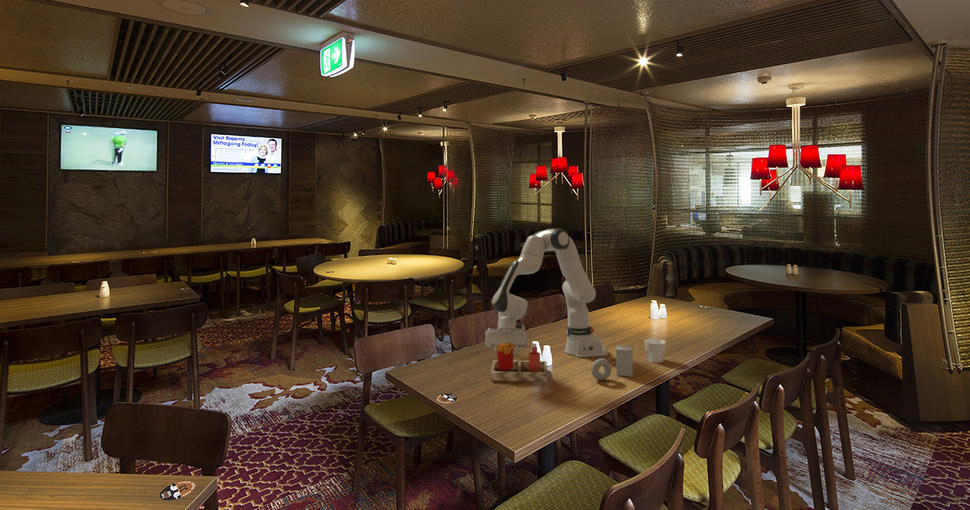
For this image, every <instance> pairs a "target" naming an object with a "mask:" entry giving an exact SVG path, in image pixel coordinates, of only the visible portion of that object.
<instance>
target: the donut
mask: <svg viewBox="0 0 970 510" xmlns="http://www.w3.org/2000/svg"><path fill="white" fill-rule="evenodd" d="M601 367H603V370H602V372H600V368H601ZM590 369H591V372H590V373H591V375H592V376H593V378H594V379H595V380H597V381H605V380H607V379H608V378H609V377H610V376H611V373H612V365H611V362H610V361H609V360H608V359H606V358H598V359H596V360H595V361H594V362H593V363H592V365H591V368H590Z"/></svg>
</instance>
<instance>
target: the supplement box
mask: <svg viewBox="0 0 970 510" xmlns="http://www.w3.org/2000/svg"><path fill="white" fill-rule="evenodd" d="M615 349H616V350H615V352H616V353H615V354H616V355H615V358H616V359H615V361H616V363H615V365H616V366H615V367H616V368H615V370H616V371H615V374H616V376H620V377H621V376H622V377H630V378H632V377H633V372H634V362H633V361H634V350H633V349H634V348H633V345H622V344H621V345H620V344H617V345H616V348H615Z"/></svg>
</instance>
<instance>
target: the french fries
mask: <svg viewBox="0 0 970 510" xmlns="http://www.w3.org/2000/svg"><path fill="white" fill-rule="evenodd" d="M497 350H498V351H497V355H496V356H497V360H498V366H499V369H498V370H500V371H508V370H513V369H512V368H513V361H514V356H513V351H515V348H514V344H512V343H510V342H508V343H504V344H499V345H497Z"/></svg>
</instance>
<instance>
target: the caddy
mask: <svg viewBox="0 0 970 510" xmlns="http://www.w3.org/2000/svg"><path fill="white" fill-rule="evenodd" d="M491 364H492V365H491V370H490V381H493V382H494V381H497V382H502V381H503V382H540V383H541V382H543V383H546V382H548V381H549V380H548V374H549V373H548V365H547V361H546V360H540V372H529V360H513V368H512V369H511V370H517V371H511V370H510V371H508V370H500V369H499V366H498V359H497V360H495V359H494V360H492V363H491ZM496 370H497V371H496ZM498 370H500V371H498ZM523 370H525V371H523ZM526 370H528V371H526Z"/></svg>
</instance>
